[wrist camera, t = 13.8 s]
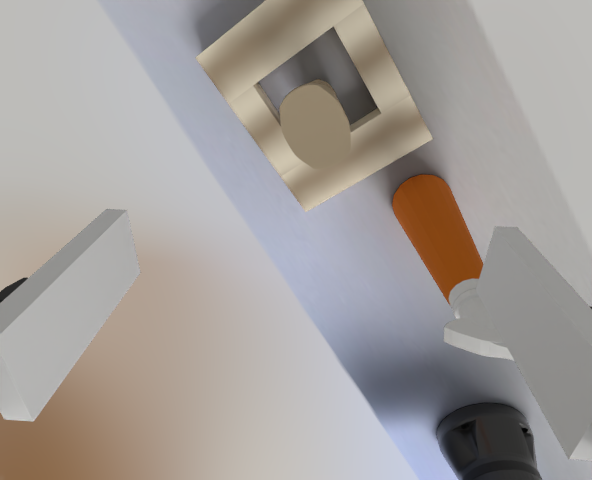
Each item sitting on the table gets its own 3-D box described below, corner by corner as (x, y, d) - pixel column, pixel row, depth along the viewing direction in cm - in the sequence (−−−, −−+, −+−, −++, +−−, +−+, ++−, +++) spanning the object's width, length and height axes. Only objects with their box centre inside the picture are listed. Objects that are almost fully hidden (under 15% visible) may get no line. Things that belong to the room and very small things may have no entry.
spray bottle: (481, 219, 49) (619, 397, 26) (393, 229, 50) (450, 407, 27) (485, 164, 45) (647, 315, 23) (390, 177, 47) (452, 330, 24)
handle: (324, 54, 41) (324, 72, 28) (351, 110, 43) (362, 151, 30) (284, 78, 42) (266, 106, 29) (312, 131, 45) (307, 178, 32)
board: (426, 131, 44) (432, 139, 41) (306, 201, 49) (305, 212, 47) (333, -51, 36) (333, -56, 34) (203, 55, 42) (195, 57, 39)
